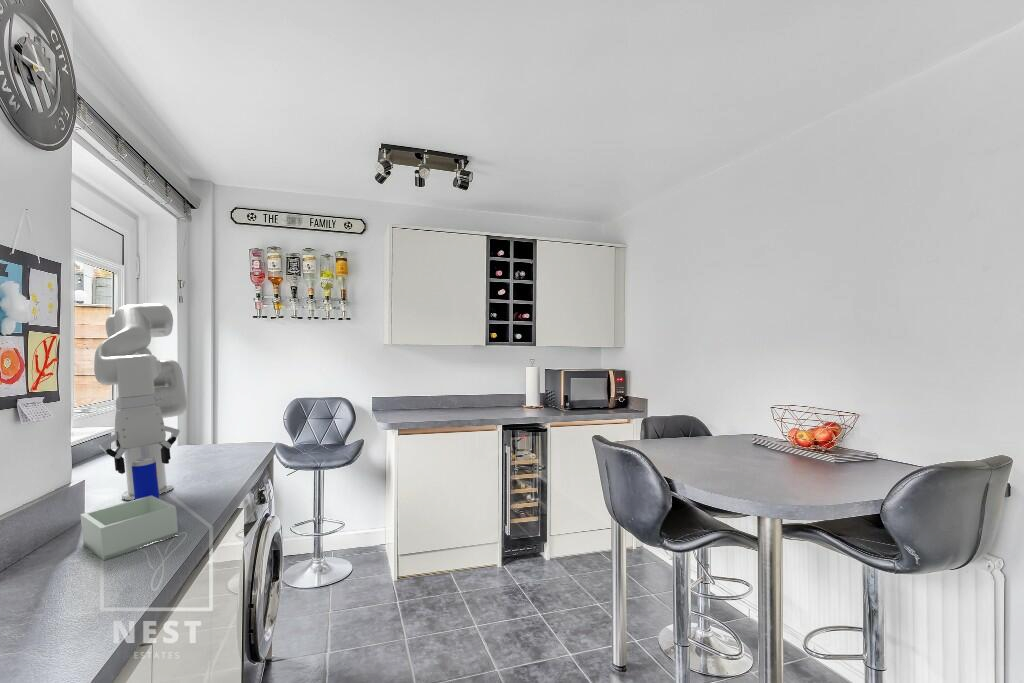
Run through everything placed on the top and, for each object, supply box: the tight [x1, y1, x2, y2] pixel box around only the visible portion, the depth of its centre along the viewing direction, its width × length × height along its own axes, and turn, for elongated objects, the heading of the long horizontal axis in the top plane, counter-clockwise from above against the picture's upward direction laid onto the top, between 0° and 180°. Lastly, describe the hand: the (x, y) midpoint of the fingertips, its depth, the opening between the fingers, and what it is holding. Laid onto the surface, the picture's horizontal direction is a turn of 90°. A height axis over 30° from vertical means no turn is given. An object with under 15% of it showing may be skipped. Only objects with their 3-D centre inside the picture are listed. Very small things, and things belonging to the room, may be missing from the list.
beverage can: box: [132, 457, 160, 500], centre depth 133 cm, size 5×5×15 cm
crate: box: [79, 495, 179, 561], centre depth 117 cm, size 16×14×7 cm
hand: (144, 467), depth 132 cm, fingers open, 9 cm apart
